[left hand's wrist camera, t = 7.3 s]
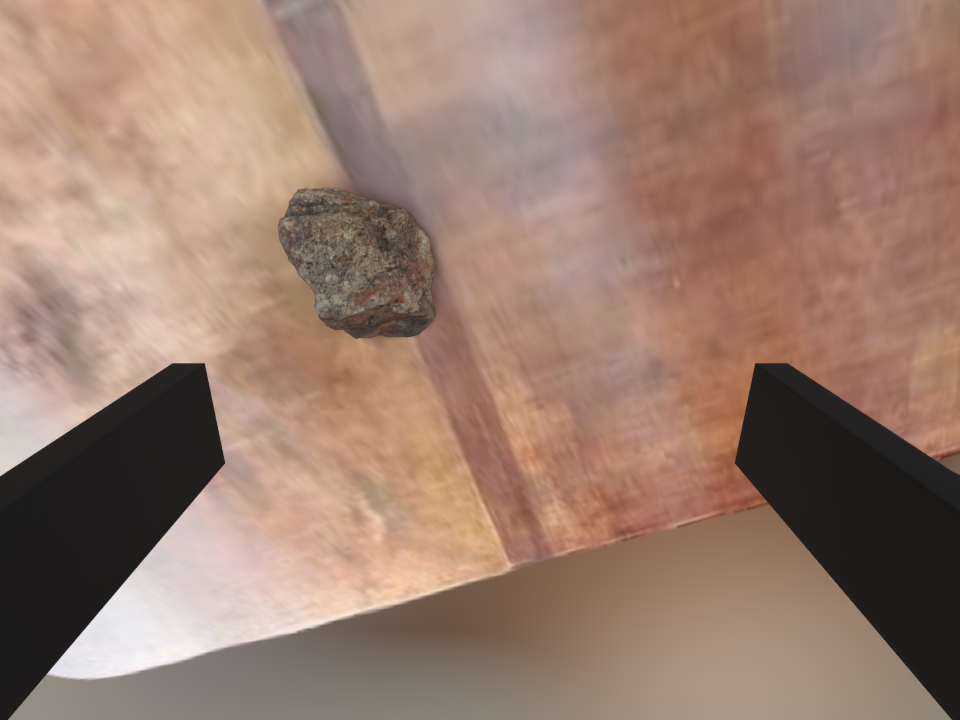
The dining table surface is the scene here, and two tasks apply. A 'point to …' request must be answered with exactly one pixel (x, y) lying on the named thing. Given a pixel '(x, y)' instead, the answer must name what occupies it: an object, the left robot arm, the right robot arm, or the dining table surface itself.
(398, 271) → the rock
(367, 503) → the dining table surface
